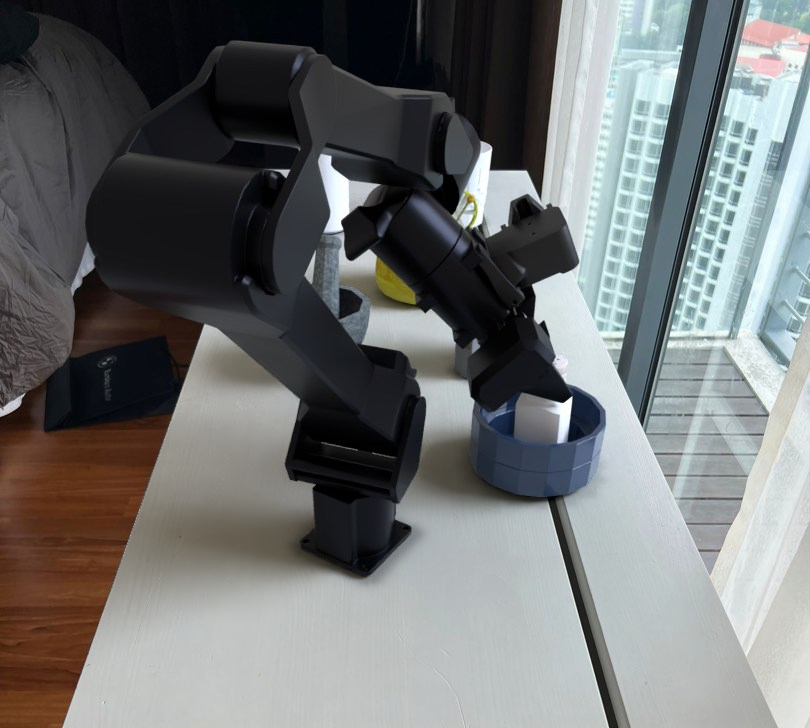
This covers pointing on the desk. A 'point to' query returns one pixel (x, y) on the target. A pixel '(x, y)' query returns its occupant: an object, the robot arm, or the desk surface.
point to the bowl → (537, 449)
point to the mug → (393, 284)
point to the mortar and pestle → (339, 290)
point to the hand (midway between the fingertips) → (564, 387)
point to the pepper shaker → (543, 415)
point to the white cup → (477, 186)
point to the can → (334, 194)
